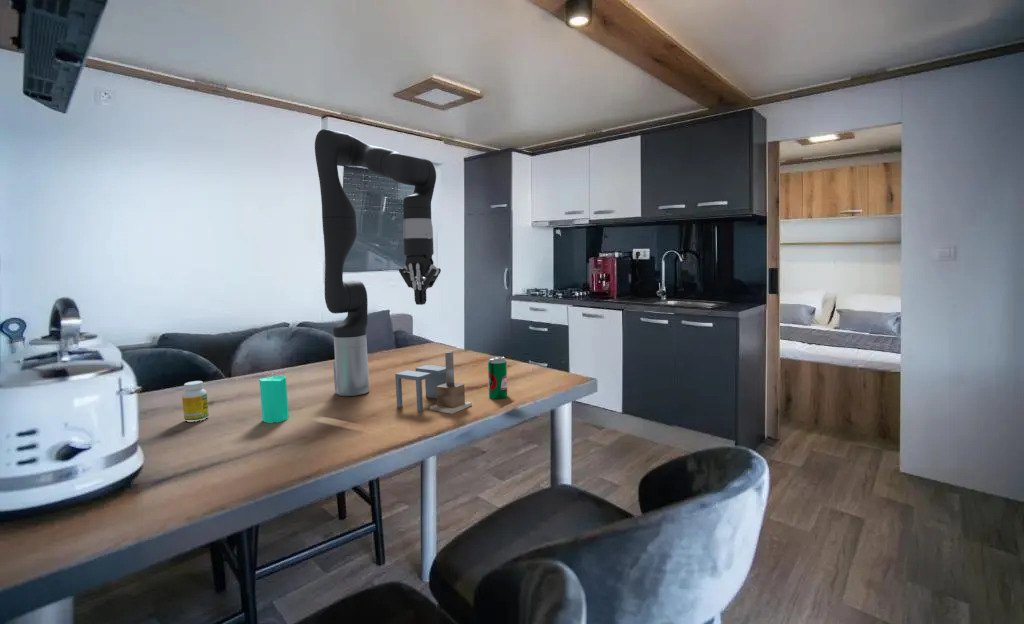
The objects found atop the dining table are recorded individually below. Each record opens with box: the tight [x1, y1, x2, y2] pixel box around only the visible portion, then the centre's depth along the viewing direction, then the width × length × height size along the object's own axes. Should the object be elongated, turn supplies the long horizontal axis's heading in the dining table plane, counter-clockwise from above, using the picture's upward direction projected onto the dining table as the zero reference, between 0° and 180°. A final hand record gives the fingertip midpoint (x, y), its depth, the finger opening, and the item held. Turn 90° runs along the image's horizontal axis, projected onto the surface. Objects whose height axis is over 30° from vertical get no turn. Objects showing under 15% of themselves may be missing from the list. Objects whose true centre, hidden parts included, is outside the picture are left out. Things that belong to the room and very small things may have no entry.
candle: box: [258, 372, 290, 424], centre depth 127 cm, size 6×6×12 cm
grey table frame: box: [394, 364, 446, 412], centre depth 135 cm, size 27×14×10 cm, turn 58°
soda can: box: [487, 356, 509, 400], centre depth 138 cm, size 5×5×12 cm
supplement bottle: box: [181, 380, 210, 420], centre depth 129 cm, size 5×5×10 cm
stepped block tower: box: [429, 351, 473, 415], centre depth 129 cm, size 7×8×14 cm
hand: (420, 304), depth 133 cm, fingers closed
